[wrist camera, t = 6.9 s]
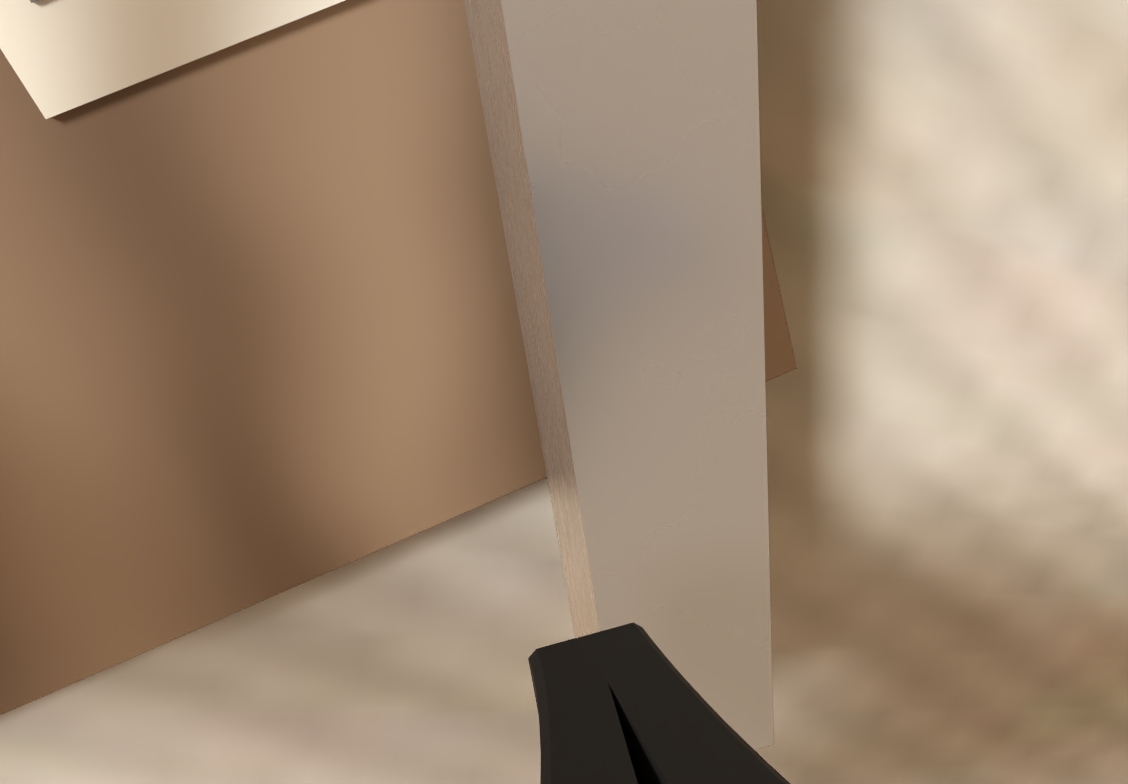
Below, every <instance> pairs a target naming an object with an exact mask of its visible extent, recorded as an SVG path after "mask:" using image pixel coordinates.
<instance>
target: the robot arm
mask: <svg viewBox="0 0 1128 784" xmlns="http://www.w3.org/2000/svg"><path fill="white" fill-rule="evenodd" d="M528 659H529V665H530V670H531V675H532V681H533V686H534V692H535V697H536V702H537V708H538V713H539V724H540V744H541V784H790V783H789V782H788V781H787V780H786V779H785V778H783V777H782V776H781V775H780V774H779V773H778V772H777V771H776V770H775V769H774V768H773V767H772V766H771V765H769V764H768V763H767V762H766V761H765V760H764V759H763V758H762V757H761V756H760V755H759V754H758V753H757V752H756V751H755V750H754V749H753V748H752V747H751V746H750V745H749V744H748V743H747V742H746V741H745V740H744V739H743V738H742V737H741V736H740V735H739V734H738V733H737V732H736V731H735V730H734V729H732V728H731V727H730V726H729V725H728V724H727V723H726V722H725V721H724V720H723V719H722V718H721V717H720V715H719V714H718V713H717V712H716V711H715V710H714V709H713V708H712V707H711V706H710V705H709V704H708V703H707V702H706V701H705V700H704V699H703V698H702V697H701V695H700V694H699V693H698V692H697V691H696V690H695V689H694V688H693V687H692V686H691V685H690V683H689V682H688V681H687V680H686V679H685V678H684V677H683V676H682V675H681V673H680V672H679V671H678V670H677V669H676V668H675V667H674V666H673V664H672V663H671V662H670V661H669V660H668V658H667V657H666V656H665V655H664V654H663V653H662V651H661V650H660V649H659V648H658V646H657V645H656V644H655V643H654V642H653V640H652V639H651V638H650V636H649V635H648V634H647V633H646V631H645V630H644V629H643V627H641V626H639V625H637V624H636V623H634V622H633V623H629V624H625V625H622V626H618V627H615V628H611V629H607V630H604V631H600V632H596V633H593V634H589V635H585V636H582V637H578V638H575V639H571V640H567V641H564V642H560V643H556V644H553V645H549V646H545V647H542V648H538V649H536V650H535V651H534V652H533V654H532V655H531V656H530V657H529V658H528Z"/></svg>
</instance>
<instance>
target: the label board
mask: <svg viewBox="0 0 1128 784" xmlns="http://www.w3.org/2000/svg"><path fill="white" fill-rule="evenodd" d="M761 216H762V259H763V302H764V346H765V382H766V381H768V380H770V379H773V378H775V377H777V376H780V375H782V374H784V373H787V372H789V371H791V370H793V369H796V364H795V359H794V355H793V350H792V346H791V341H790V336H789V332H788V327H787V323H786V318H785V313H784V309H783V304H782V300H781V295H780V290H779V286H778V281H777V277H776V272H775V267H774V263H773V258H772V254H771V249H770V244H769V240H768V235H767V231H766V226H765V221H764V217H763V212H762V208H761ZM545 477H547V472H546V467H545V461H544V455H543V450H542V444H541V438H540V433H539V427H538V421H537V416H536V410H535V404H534V398H533V393H532V387H531V381H530V376H529V370H528V364H527V359H526V353H525V347H524V342H523V336H522V330H521V324H520V319H519V313H518V307H517V302H516V296H515V290H514V285H513V279H512V273H511V268H510V262H509V256H508V250H507V245H506V239H505V233H504V228H503V222H502V216H501V211H500V205H499V199H498V194H497V188H496V182H495V176H494V171H493V165H492V159H491V154H490V148H489V142H488V137H487V131H486V125H485V120H484V114H483V108H482V102H481V97H480V91H479V85H478V80H477V74H476V68H475V63H474V57H473V51H472V46H471V40H470V34H469V28H468V23H467V17H466V11H465V6H464V0H0V715H1V714H4V713H6V712H8V711H10V710H13V709H15V708H17V707H20V706H22V705H24V704H27V703H29V702H31V701H33V700H36V699H38V698H40V697H43V696H45V695H47V694H50V693H52V692H54V691H56V690H59V689H61V688H63V687H66V686H68V685H70V684H72V683H75V682H77V681H79V680H82V679H84V678H86V677H89V676H91V675H93V674H95V673H98V672H100V671H102V670H105V669H107V668H109V667H111V666H114V665H116V664H118V663H121V662H123V661H125V660H128V659H130V658H132V657H134V656H137V655H139V654H141V653H144V652H146V651H148V650H151V649H153V648H155V647H157V646H160V645H162V644H164V643H167V642H169V641H171V640H173V639H176V638H178V637H180V636H183V635H185V634H187V633H190V632H192V631H194V630H196V629H199V628H201V627H203V626H206V625H208V624H210V623H213V622H215V621H217V620H219V619H222V618H224V617H226V616H229V615H231V614H233V613H235V612H238V611H240V610H242V609H245V608H247V607H249V606H252V605H254V604H256V603H258V602H261V601H263V600H265V599H268V598H270V597H272V596H275V595H277V594H279V593H281V592H284V591H286V590H288V589H291V588H293V587H295V586H297V585H300V584H302V583H304V582H307V581H309V580H311V579H314V578H316V577H318V576H320V575H323V574H325V573H327V572H330V571H332V570H334V569H337V568H339V567H341V566H343V565H346V564H348V563H350V562H353V561H355V560H357V559H359V558H362V557H364V556H366V555H369V554H371V553H373V552H376V551H378V550H380V549H382V548H385V547H387V546H389V545H392V544H394V543H396V542H399V541H401V540H403V539H405V538H408V537H410V536H412V535H415V534H417V533H419V532H421V531H424V530H426V529H428V528H431V527H433V526H435V525H438V524H440V523H442V522H444V521H447V520H449V519H451V518H454V517H456V516H458V515H461V514H463V513H465V512H467V511H470V510H472V509H474V508H477V507H479V506H481V505H483V504H486V503H488V502H490V501H493V500H495V499H497V498H500V497H502V496H504V495H506V494H509V493H511V492H513V491H516V490H518V489H520V488H522V487H525V486H527V485H529V484H532V483H534V482H536V481H539V480H541V479H543V478H545Z"/></svg>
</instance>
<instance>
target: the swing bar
mask: <svg viewBox="0 0 1128 784" xmlns="http://www.w3.org/2000/svg"><path fill="white" fill-rule="evenodd" d="M464 6H465V11H466V17H467V23H468V28H469V34H470V40H471V46H472V51H473V57H474V63H475V68H476V74H477V80H478V85H479V91H480V97H481V102H482V108H483V114H484V120H485V125H486V131H487V137H488V142H489V148H490V154H491V159H492V165H493V171H494V176H495V182H496V188H497V194H498V199H499V205H500V211H501V216H502V222H503V228H504V233H505V239H506V245H507V250H508V256H509V262H510V268H511V273H512V279H513V285H514V290H515V296H516V302H517V307H518V313H519V319H520V324H521V330H522V336H523V342H524V347H525V353H526V359H527V364H528V370H529V376H530V381H531V387H532V393H533V398H534V404H535V410H536V416H537V421H538V427H539V433H540V438H541V444H542V450H543V455H544V461H545V467H546V472H547V478H548V484H549V490H550V495H551V501H552V507H553V512H554V518H555V524H556V529H557V535H558V541H559V546H560V552H561V558H562V564H563V569H564V575H565V581H566V586H567V592H568V598H569V603H570V609H571V615H572V620H573V626H574V632H575V638H578V637H582V636H585V635H589V634H593V633H596V632H600V631H604V630H607V629H611V628H615V627H618V626H622V625H625V624H629V623H633V622H634V623H636V624H637V625H639V626H641V627H643V629H644V630H645V631H646V633H647V634H648V635H649V636H650V638H651V639H652V640H653V642H654V643H655V644H656V645H657V646H658V648H659V649H660V650H661V651H662V653H663V654H664V655H665V656H666V657H667V658H668V660H669V661H670V662H671V663H672V664H673V666H674V667H675V668H676V669H677V670H678V671H679V672H680V673H681V675H682V676H683V677H684V678H685V679H686V680H687V681H688V682H689V683H690V685H691V686H692V687H693V688H694V689H695V690H696V691H697V692H698V693H699V694H700V695H701V697H702V698H703V699H704V700H705V701H706V702H707V703H708V704H709V705H710V706H711V707H712V708H713V709H714V710H715V711H716V712H717V713H718V714H719V715H720V717H721V718H722V719H723V720H724V721H725V722H726V723H727V724H728V725H729V726H730V727H731V728H732V729H734V730H735V731H736V732H737V733H738V734H739V735H740V736H741V737H742V738H743V739H744V740H745V741H746V742H747V743H748V744H749V745H750V746H751V747H752V748H753V749H754V750H757V749H760V748H763V747H766V746H769V745H772V744H774V733H773V690H772V647H771V604H770V561H769V518H768V475H767V432H766V389H765V346H764V302H763V259H762V216H761V173H760V130H759V87H758V44H757V1H756V0H464Z"/></svg>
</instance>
